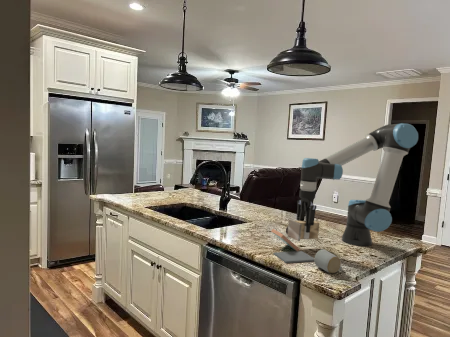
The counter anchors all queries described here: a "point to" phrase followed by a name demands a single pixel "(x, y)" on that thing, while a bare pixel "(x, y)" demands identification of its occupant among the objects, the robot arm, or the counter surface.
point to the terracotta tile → (285, 240)
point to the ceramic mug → (327, 261)
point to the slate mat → (294, 256)
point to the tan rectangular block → (302, 230)
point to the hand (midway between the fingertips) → (303, 237)
